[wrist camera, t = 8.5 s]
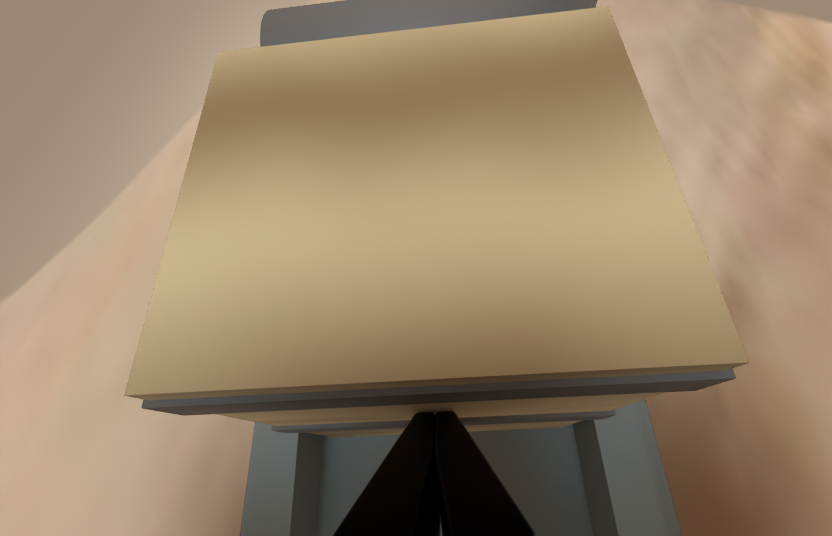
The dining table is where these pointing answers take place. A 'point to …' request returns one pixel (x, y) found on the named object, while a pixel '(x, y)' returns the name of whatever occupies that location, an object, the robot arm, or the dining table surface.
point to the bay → (504, 450)
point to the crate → (431, 238)
